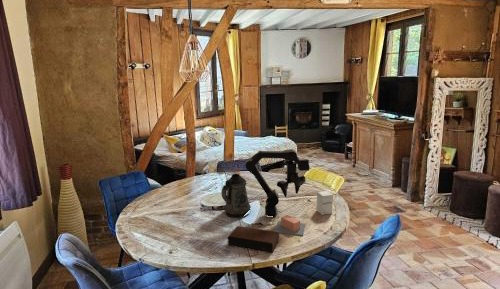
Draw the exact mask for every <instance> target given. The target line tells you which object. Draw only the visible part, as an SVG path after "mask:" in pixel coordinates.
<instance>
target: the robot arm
mask: <svg viewBox="0 0 500 289" xmlns="http://www.w3.org/2000/svg"><path fill="white" fill-rule="evenodd" d="M262 159H283V160H284V161H283V164H284V165H286V171H285V174H286V178H285V179H284V180H279V181H277V182H276V187H278V188H280V190H281V192H282V194H283V196H284V198H287V196H288V195H287V194H288V189H289V185H291V184H294V192H295V194H298V193H299V191H300V188H301V186H303V185H304V184H305V183H306V176H305V175H302V176H301V175H299V172H297V170H299V171H300V172H308V171H310V168H311V167H310V160H309V159H307V158H305V159H300V158H299V156H298V154H297V152H296V150H295V149H292V148H290V149H285V150H281V151H280V150H279V151H278V150H276V151H275V150H258V151H257V152H256V153H255V154H253V155H252V156H251V157H250V158H247V159H246V160H245V166H244V167H245V169H246V170H248V172H249V173H250V174H252V175H253V177H254V178H255V179H256V181H257V183H258V184H259V185H260V187H261V188H262V190H263V191H264V192H265V196H266V199H265V206H264V215H265V214H267V215H268V216H273V217H274V218H276V216H277V214H278V211H277V210H278V208H277V205H278V204H279V202H280V199H279V193H278V192H277V191H276V189H272V188H271V187H270V185H269V183H268V182H267V181H266V179H265V178H264V176H263V175H262V173H261V172H260V170H259V168H258V165H257V164H258V163H259V162H260V161H261V160H262ZM273 217H272V218H273Z"/></svg>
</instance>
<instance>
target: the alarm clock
mask: <svg viewBox="0 0 500 289" xmlns="http://www.w3.org/2000/svg"><path fill="white" fill-rule="evenodd" d="M279 234H280V233H278V232H274V230H266V229H260V228H253V227H248V226H242V225H241V226H240V225H237V226H236V227H235V228H234V229H233V231H231V232H230V234H229V235H228V237H227V245H228V247H229V246H231V247H234V248H235V247H236V248H241V249H246V248H247V250H252V249H254V250H253V251H258V250H259V251H258V252H264V253H271V254H273V252H274V251H275V249H276V248H277V245H278V244H279V242H280V235H279Z"/></svg>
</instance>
